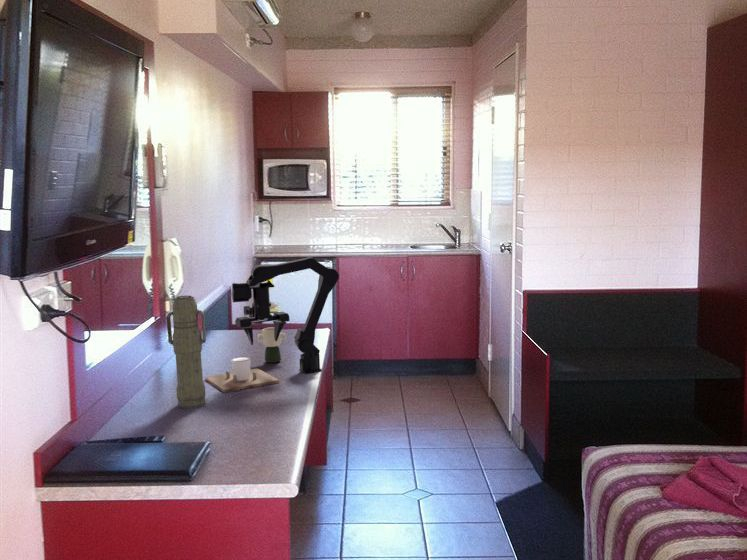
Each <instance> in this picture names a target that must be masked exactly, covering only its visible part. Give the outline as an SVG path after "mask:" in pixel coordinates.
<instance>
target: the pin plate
mask: <svg viewBox="0 0 747 560" xmlns="http://www.w3.org/2000/svg"><path fill="white" fill-rule="evenodd" d="M225 372H226V373H223V374H222V373H221V374H216V375H209V376H205V377H204V378H205V379H204V380H205V381H206V382H208V383H209V384H211V385H212V386H213V387H215V388H216V387H217V389H218V390H219V389H220V390H219V391H221V392H222V391H223V392H222V393H224V392H225V393H230V392H229V391H231V392H235V391H234V390H236V391H240V389H242V390H246V389H245V388H247V389H251V388H250V387H253V388H257V386H258V387H262V385H264V386H270V385H274V383H275V384H279V383H280V379H278V378H276V377H275V376H272V375H270V374H269V373H267V372H265V371H263V370H261V369H259V368H258V367H257V368H252V369H251V368H250V378H249V379H248V380H243V381H237V375H233V372H230V370H226V371H225Z"/></svg>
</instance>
